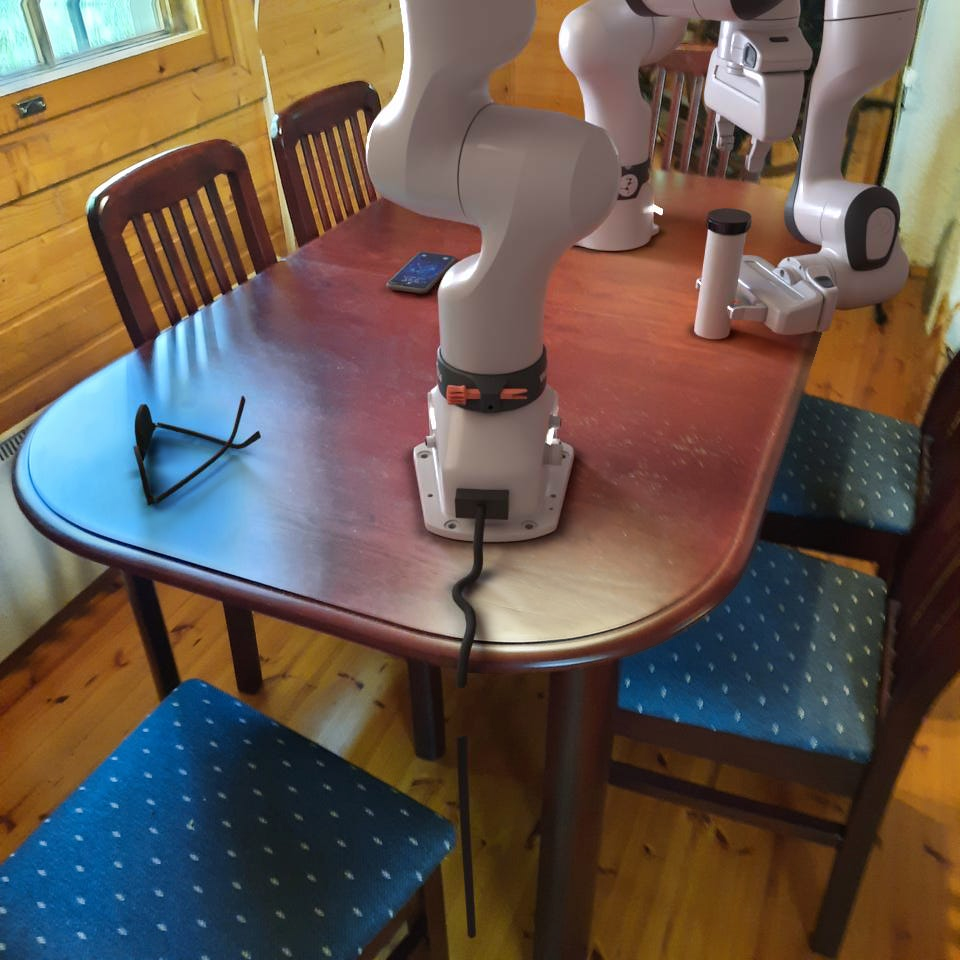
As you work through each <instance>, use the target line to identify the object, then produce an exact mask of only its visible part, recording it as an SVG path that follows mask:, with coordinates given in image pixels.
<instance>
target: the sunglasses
mask: <svg viewBox="0 0 960 960" xmlns="http://www.w3.org/2000/svg"><path fill="white" fill-rule="evenodd" d="M245 404H246V398H245V396H244V395H241V396H240V401H239V405H238V408H237V409H238V410H237V413H236V417H235V421H234V425H233V429H232V432H231V435H230V437H229V439H228V440H227V441H226V440H223V439H220V438H217V437H214V436H211V435H208V434H204V433H201V432H198V431H195V430H192V429H188V428H184V427H180V426H176V425H172V424H169V423H164V422H159V421H157V422H153V418H152V414H151V411H150V408H149V406H148V404H146V403H142V404H140V405H139V406H138V409H137V411H136V413H135V418H134V436H135V444H136V445H133V447H132V448H133V452H134V455H135V460H136V463H137V467H138V471H139V475H140V479H141V485H142V489H143V493H144V497H145V500H146V503H147V505H148V506H151V505H154V504H155V501H156V503H157V504H160V503H162V501H164V500H165V499H167V498H168V497H170V496H171V495H172V494H174V493H175V492H177V491H178V490H179V489H181V488H182V487H184V486H185V485H187V484H188V483H189V482H191V481H192V480H193V479H194V478H196V477H197V476H198V475H200V474H202V473H203V472H204V471H205V470H206V469H208V467H210V466H211V465H212V464H213V463H215V462H216V461H217V460H218V459H220V457H222V455H223V454H224V453H225V452H226V451H228V449H229V448H231V449H233V450H242V449H246V448H247V447H249V446H250V445H252V444H254V443H255V442H256V441H258V440H260V439H261V438H262V435H261V432H260V430H256V431H255V432H254V433H253V434H252V435H250V436H249V437H248V438H247V439H246V440H245V441H244V442H241V443H233V442H234V441H235V438H236V435H237V434H238V429H239V426H240V423H241V419H242V415H243V412H244V409H245ZM157 428H160V429H164V430H168V431H172V432H175V433H179V434H183V435H188V436H191V437H195V438H199V439H202V440H205V441H209V442H211V443H215V444H218V445H221V446H223V447H221V449H220V450H219V451H217V452H216V453H215V454H214V455H213V456H212V457H211V458H209V459H208V460H207V461H206V462H204V463H203V464H202V465H200V466H199V467H198V468H196V469H195V470H193V471H192V472H191V473H189V474H188V475H187V476H186V477H184V478H183V479H180V481H178V482H177V483H176V484H174V485H172V486H171V487H169V488H168V489H166V490H165V491H163V492H162V493H161V494H160V495H158V496H157V497H154V495H152V491H151V487H150V484H149V479H148V474H147V470H146V467H145V463H144V461H145V459H146V456H147V453H148V450H149V448H150V445H151V442H152V438H153V435H154V432H155V430H157Z"/></svg>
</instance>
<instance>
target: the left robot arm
mask: <svg viewBox="0 0 960 960" xmlns="http://www.w3.org/2000/svg"><path fill="white" fill-rule="evenodd" d="M625 1H626V3H627V4H628V6H629V7H630V9H631V10H632V11H633V12H634V13H635V14H637V15H639V16H642V17H668V16H674V17H683V18H691V19H694V20H703V21H719V22H720V28H719V34H718V43H717V47H715V48H714V49H713V50H712V52H711V55H710V59H709V63H708V69H707V74H706V77H705V79H706V80H705V85H704V89H703V90H704V91H703V99H704V104H705V106H706V107H707V108H709V109H710V110H712V111H714V112H715V126H716V134H717V139H716V144H715V145H716V148H717V150H719V151H721V152H723V153H725V152H731V151H732V150H733V149H734V144H735V136H734V135H733V134H734V133H733V130H734V129H733V128H734V127H733V126H734V125H735V126H737V127H739V128H740V129H741V130H743V131H744V132H746V133H748V134H749V135H751V141H750V143H751V145H752V146H751V149H750V151H749V154H746V155H745V160H744V161H745V162H744V169H745V170H746V171H748V173H750V174H753V173H760V172H762V170H763V168H764V163H765V158H766V157H767V155H768V153H769V152H770V150H771V148H772V146H773V143H783V142H788V141H789V140H790V138H792V136H793V134H794V133H795V130H796V128H797V124H798V119H799V115H800V111H801V107H802V101H803V96H804V91H805V74H804V73H803V71H806V70H809V69H810V68H811V66H812V62H813V55H814V54H813V53H814V51H813V49H812V48H811V46H810V45H809V43H808V42H807V40H806V39H805V37H804V35H803V32H802V29H801V28H800V27H799V21H800V16H801V0H625ZM399 5H400V11H401V19H402V20H401V21H402V27H403V36H404V37H403V38H404V57H403V66H402V67H403V68H402V72H401V78H400V81H399V84H398V87H397V90H396V92H395V94H394V96H393V97H392V99H390V101H389V102H388V103H387V104H386V105H385V106H383V108H382V109H381V110H380V111H379V112H378V114H377V115H376V117H375V119H374V120H373V122H372V124H371V127H370V128H369V132H368V135H367V139H366V145H365V162H366V167H367V173H368V176H369V179H370V181H371V183H372V185H373V188H374V189H375V191H376V192H377V193H378V194H379V196H381V197H382V198H383V199H385V200H386V201H387V200H388V201H389V202H391V203H393V204H395V205H397V206H399V207H401V208H404V209H406V210H409V211H410V212H413V213H415V214H418V215H420V216H424V217H429V218H434V219H438V220H444V221H450V222H455V223H459V224H465V225H470V226H474V227H477V228H479V230H480V234H481V247H480V251H479V252H477V253H473V254H472V255H469V256H467V257H465V258H463V259H461V260H459V261H458V262H457V261H456V262H455V263H454V264H453V265H452V266H451V267H450V269H449V270H448V271H447V272H446V273H445V274H444V275H443V276H442V278H441V279H442V280H441V281H440V284H439V287H438V290H437V307H438V327H439V342H440V343H439V344H440V345H439V346H438V348H437V354H436V356H437V358H436V363H435V364H436V376H437V384H436V385H435V387H434V386H433V388H432V389H431V390H430V391H428V392H427V406H428V407H427V409H428V424H429V435H426V436H425V438H424V442H422V443H419V444H417V445H416V446H415V447H414V448H413V454H412V455H413V457H412V458H413V464H414V470H415V475H416V476H415V477H416V480H417V487H418V492H419V498H420V499H419V500H420V503H421V504H420V505H421V510H422V516H423V522H424V526H425V529H426V530H427V531H428V532H429V533H432V534H434V535H437V536H440V537H443V538H448V539H452V540H457V541H466V542H472V554H473V557H472V558H473V563H472V568H471V570H470V572H469V573H468V574H467V575H466V576H464V577H462V578H461V579H459V580H458V581H457V582H456V583H455V584H453V586H452V590H451V597H452V601H453V602H454V603H455V605H456V606H457V607H458V608H459V609H460V610H461V611H462V612H463V615H464V617H465V629H464V630H465V631H464V634H463V636H462V637H463V638H462V641H461V644H460V648H459V653H458V657H457V663H456V664H457V666H456V675H455V676H456V678H455V686H456V687H457V688H459V689H464V688H465V687H467V685H468V671H469V670H468V669H469V662H470V656H471V651H472V647H473V644H474V641H475V638H476V633H477V632H476V631H477V615H476V611H475V609H474V607H473V606H472V605H471V603H470V602H469V601H467V599H466V598H465V597H464V595H463V591H464V590H465V589H466V588H468V587H469V586H471V585H472V584H475V582H476V581H477V580H478V579H479V577H480V576H481V574H482V571H483V567H484V543H500V542H501V543H502V542H503V543H506V542H518V541H527V540H531V539H536V538H539V537H543V536H546V535H548V534H550V533H552V532H554V531H556V530H557V527H558V525H559V520H560V518H561V517H560V516H561V512H562V508H563V504H564V500H565V497H566V492H567V488H568V483H569V480H570V476H571V472H572V469H573V468H572V467H573V464H574V459H575V450H574V447H573V446H571V445H570V444H568V443H566V442H563V441H561V439H560V438H558V430H560V429H561V428H562V416H559V392H557V391H556V390H555V389H554V388H553V387H552V386H551V385H550V384H549V383H548V382H547V379H548V367H549V361H548V356H547V355H548V354H547V353H548V351H547V347H546V345H545V344H544V330H545V329H544V327H545V314H546V303H547V295H548V288H549V286H550V281H551V279H552V276H553V273H554V271H555V269H556V267H557V265H558V264H559V262H560V261H561V259H562V258H563V256H564V255H565V254H566V253H567V252H568V251H569V250H570V249H571V248H572V247H573V246H575V245H574V244H576V243H577V242H579V241H580V240H581V239H583V238H585V237H587V236H589V235H590V234H591V233H593V232H594V231H595V230H597V229H598V228H599V227H600V226H601V225H602V224H603V223H604V221H605V220H606V219H607V218H608V216H609V215H610V213H611V211H612V210H613V208H614V206H615V204H616V201H617V198H618V195H619V191H620V187H621V177H622V170H621V162H620V157H619V153H618V150H617V147H616V145H615V143H614V141H613V139H612V137H611V136H610V134H609V133H608V131H607V130H605V129H604V128H602V127H599V126H597V125H594V124H592V123H589V122H587V121H585V119H581V118H579V117H576V116H572V115H570V114H567V113H564V112H561V111H555V110H547V109H540V108H531V107H530V108H529V107H523V106H514V105H506V104H500V103H497V102H494V99H493V97H492V95H491V89H490V80H491V78H490V77H491V74H493V73H494V72H498V71H499V70H501V69H502V68H503V67H505V66H507V65H508V64H510V63H511V62H512V61H514V60H515V59H516V58H518V57H519V55H520V54H522V53H523V51H524V50H525V49H526V47H527V46H528V44H529V42H530V41H531V39H532V36H533V33H534V31H535V27H536V24H537V19H538V10H537V9H538V8H537V0H399ZM733 124H734V125H733ZM468 752H469V751H468V735H463V736H460V737H457V738H456V755H457V756H456V759H457V761H456V762H457V763H456V764H457V788H458V789H457V790H458V809H459V825H460V842H461V856H462V867H463V868H462V870H463V884H464V898H465V899H464V900H465V914H466V915H465V916H466V931H467V936H468V938H469V939H475V937H476V936H477V928H476V924H477V923H476V908H475V907H476V906H475V888H474V887H475V886H474V871H473V870H474V869H473V852H472V834H471V817H470V816H471V814H470V813H471V812H470V793H469V792H470V791H469V790H470V789H469V760H468V758H469V756H468V755H469V753H468Z"/></svg>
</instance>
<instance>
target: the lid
mask: <svg viewBox="0 0 960 960" xmlns="http://www.w3.org/2000/svg"><path fill="white" fill-rule="evenodd" d="M752 222H753V221H752V214H750V213H749V212H748V211H746V210H743V209H738V208H731V207H726V208H725V207H721V208H716V209H712V210H710V211H708V214H707V216H706V223H705V227H706V229H707V230H708V229H709V230H710V231H712V232H715V233H719V234H725V235H738V234H743V233H746V234H747V233H748V232H749V231H750V229H751V227H752Z"/></svg>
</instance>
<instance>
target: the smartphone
mask: <svg viewBox="0 0 960 960" xmlns="http://www.w3.org/2000/svg"><path fill="white" fill-rule="evenodd" d="M456 263H457V257H456V255H451V254H445V253H444V254H443V253H436V252H428V251H420V252H417V253H416V254H415V255H414V257H412V258H411V259H410V260H409V261H408V262H407V263H406V264H405V265H404V266H403V267H402V268H401V269H400V270H399V271H398V272H397V273H396V274H395V275H394V276H392V278H390V279H389V280H388V281H387V283H386V289H389V290H392V291H399V292H405V293H413V294H419V295H424V294H427V293H428V292H429V291H430V290H432V288H433V287H434V286H435V285H436V284H437V283H438V282H439V281H440V280H441V279H442V278H443V277H444V276H445V274H446V273H447V271H448V270H449V269H450V268H451V267H452V266H453V265H455V264H456Z"/></svg>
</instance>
